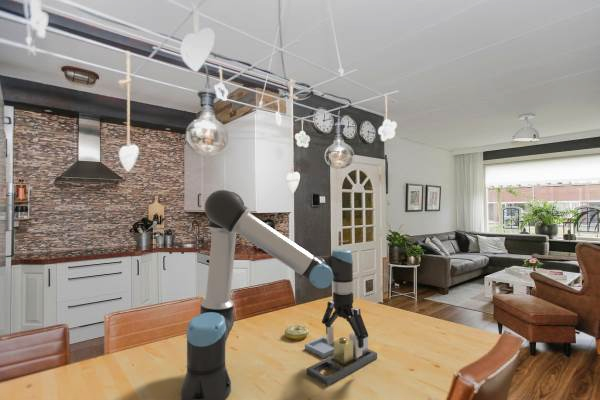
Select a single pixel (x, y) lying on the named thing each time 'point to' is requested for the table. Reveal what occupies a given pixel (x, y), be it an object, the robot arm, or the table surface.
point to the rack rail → (338, 368)
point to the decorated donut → (296, 332)
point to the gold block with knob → (343, 352)
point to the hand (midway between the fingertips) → (344, 349)
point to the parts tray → (320, 347)
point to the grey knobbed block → (364, 348)
